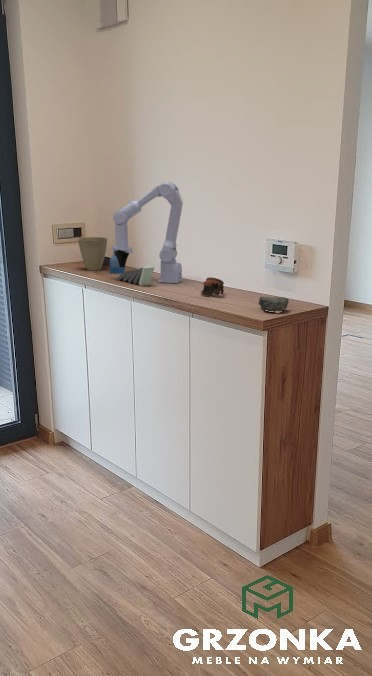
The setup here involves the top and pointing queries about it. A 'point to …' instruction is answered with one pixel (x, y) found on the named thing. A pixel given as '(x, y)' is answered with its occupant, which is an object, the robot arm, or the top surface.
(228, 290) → the top surface
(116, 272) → the perfume bottle
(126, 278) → the domino
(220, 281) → the brown irregular lump
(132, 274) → the domino
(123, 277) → the domino
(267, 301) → the rock
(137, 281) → the domino
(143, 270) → the domino
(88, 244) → the plant pot
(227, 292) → the top surface
